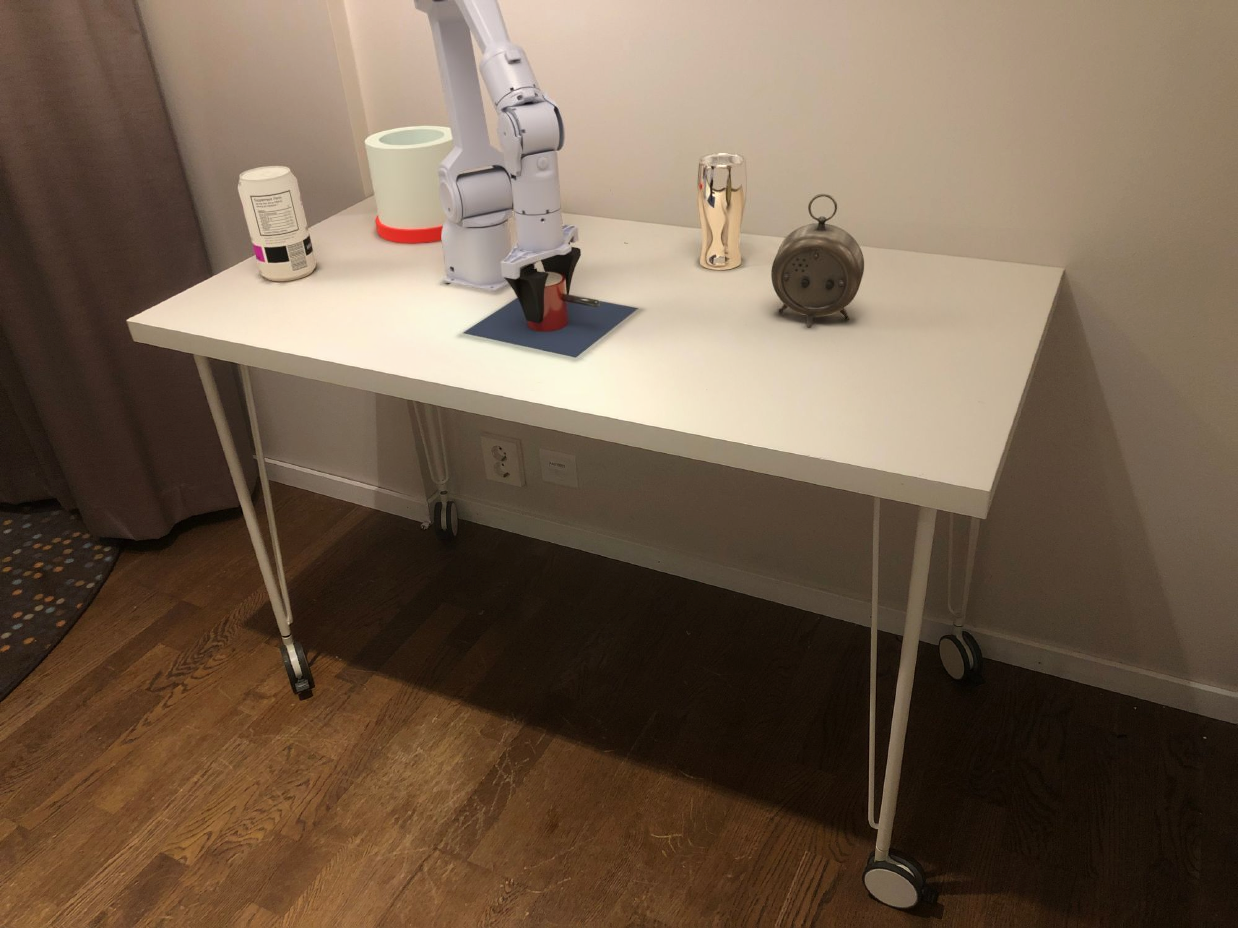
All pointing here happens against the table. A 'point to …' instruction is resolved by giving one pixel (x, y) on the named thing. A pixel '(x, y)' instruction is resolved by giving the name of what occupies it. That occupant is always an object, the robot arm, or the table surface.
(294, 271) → the supplement can
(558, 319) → the pot
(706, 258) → the beer glass
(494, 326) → the cloth
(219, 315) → the table surface
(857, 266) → the alarm clock
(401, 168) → the container
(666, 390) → the table surface
